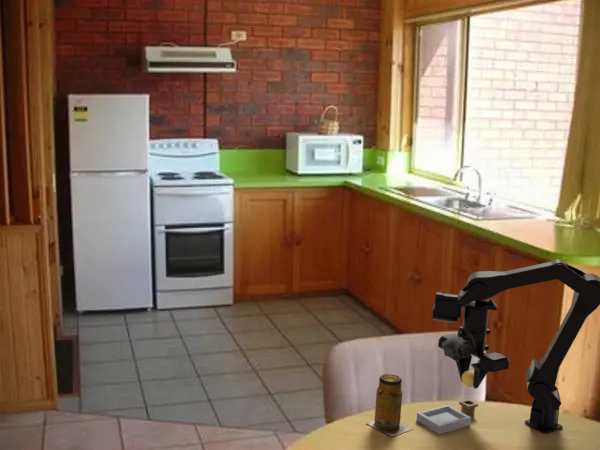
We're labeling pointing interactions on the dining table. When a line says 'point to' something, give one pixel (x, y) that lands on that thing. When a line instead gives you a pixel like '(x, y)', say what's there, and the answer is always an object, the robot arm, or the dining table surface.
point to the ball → (468, 378)
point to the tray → (443, 419)
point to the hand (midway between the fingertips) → (469, 384)
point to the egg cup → (468, 407)
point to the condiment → (389, 406)
